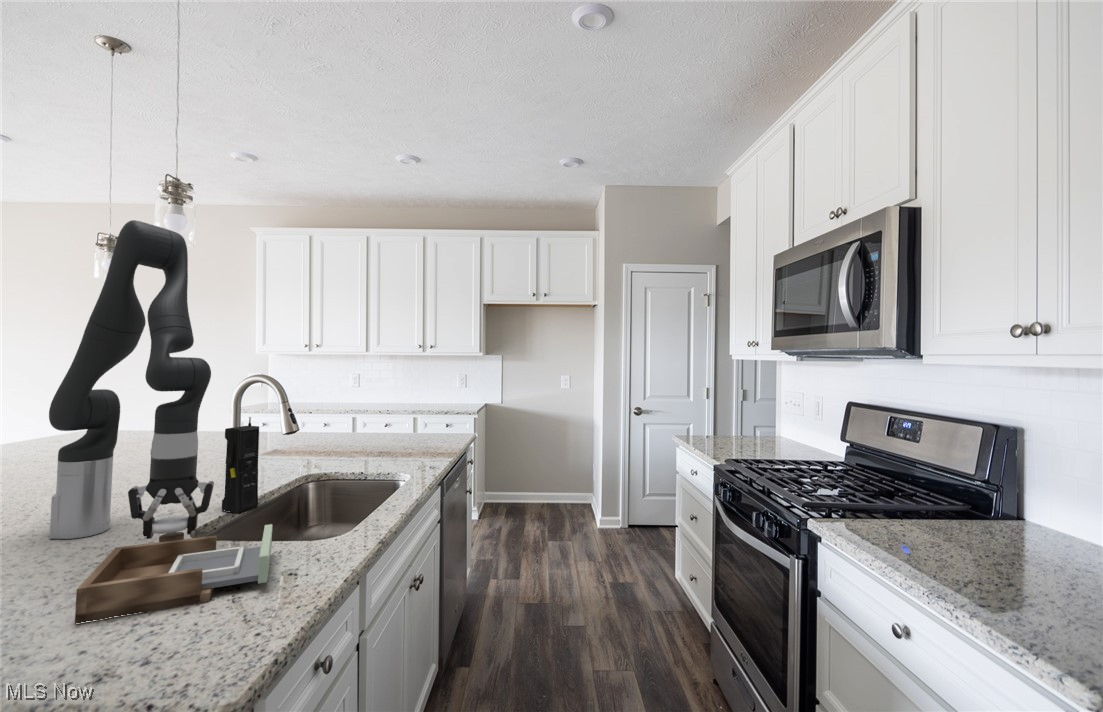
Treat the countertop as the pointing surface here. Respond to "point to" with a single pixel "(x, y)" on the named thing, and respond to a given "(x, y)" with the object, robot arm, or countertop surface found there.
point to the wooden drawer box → (142, 580)
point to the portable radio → (241, 468)
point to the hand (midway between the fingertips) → (170, 535)
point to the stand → (171, 536)
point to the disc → (170, 524)
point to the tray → (229, 563)
